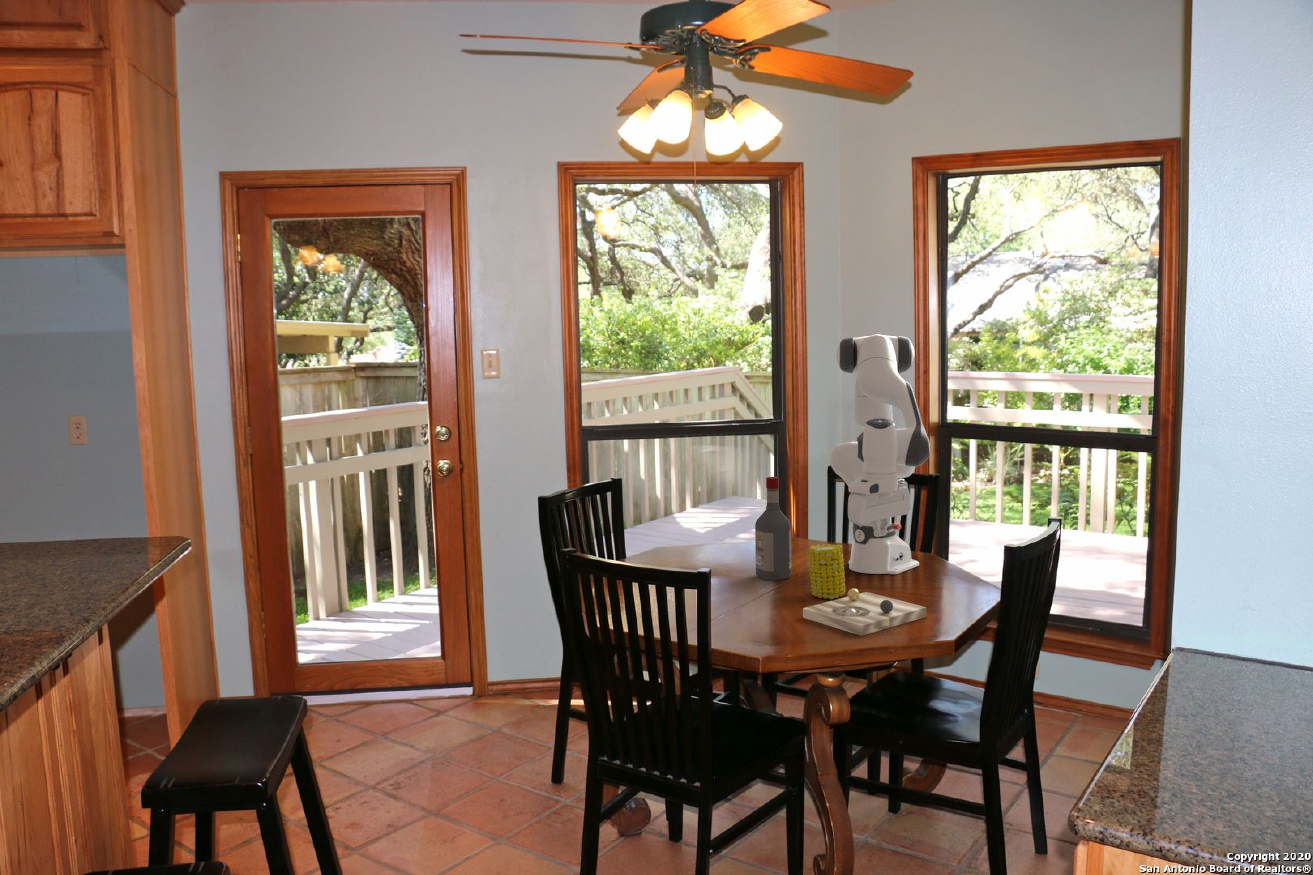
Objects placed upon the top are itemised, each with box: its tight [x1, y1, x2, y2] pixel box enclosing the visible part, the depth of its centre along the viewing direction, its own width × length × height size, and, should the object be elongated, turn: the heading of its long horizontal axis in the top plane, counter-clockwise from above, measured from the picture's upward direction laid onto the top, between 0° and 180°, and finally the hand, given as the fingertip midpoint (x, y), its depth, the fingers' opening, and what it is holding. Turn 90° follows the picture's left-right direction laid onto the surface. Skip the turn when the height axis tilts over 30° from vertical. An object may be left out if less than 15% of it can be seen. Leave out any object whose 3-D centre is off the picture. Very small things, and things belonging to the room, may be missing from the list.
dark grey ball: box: [880, 600, 893, 613], centre depth 254 cm, size 3×3×3 cm
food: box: [808, 543, 846, 601], centre depth 280 cm, size 15×12×10 cm
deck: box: [802, 591, 927, 636], centre depth 259 cm, size 24×20×2 cm
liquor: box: [754, 476, 792, 582], centre depth 301 cm, size 9×9×30 cm
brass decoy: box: [846, 588, 860, 601], centre depth 266 cm, size 3×3×3 cm
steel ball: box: [845, 609, 857, 614], centre depth 256 cm, size 3×3×3 cm
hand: (880, 535), depth 261 cm, fingers closed
